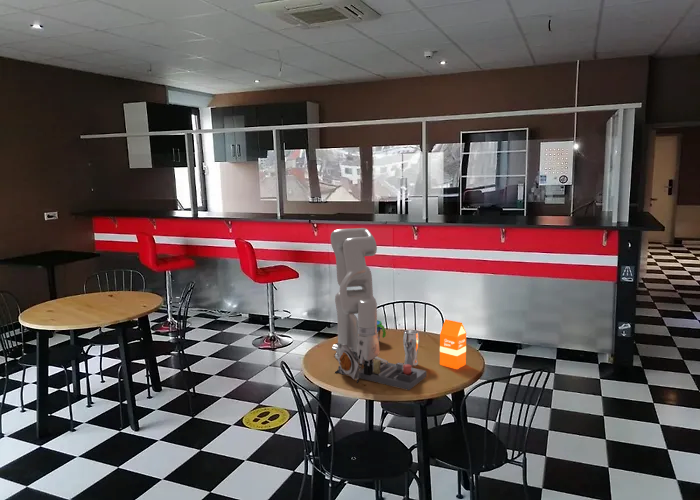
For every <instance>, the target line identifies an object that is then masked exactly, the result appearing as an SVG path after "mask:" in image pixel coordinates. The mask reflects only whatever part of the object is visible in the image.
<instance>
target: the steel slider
mask: <svg viewBox="0 0 700 500" xmlns="http://www.w3.org/2000/svg"><path fill="white" fill-rule="evenodd" d="M395 364H396V365H397V371H399V372H401V371H403V365H405V364H404V363H403V362H398V361H397V362H396V363H395Z"/></svg>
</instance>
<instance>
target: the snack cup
mask: <svg viewBox="0 0 700 500" xmlns="http://www.w3.org/2000/svg"><path fill="white" fill-rule="evenodd" d="M381 330H382V335H381ZM377 332H378V337H379V339H380V337H382V339H384V338H385V337H386V336H387V335H386V334H387V332H386V328H385V326H384V325H383V324H382V321H381V320H379V319H377Z"/></svg>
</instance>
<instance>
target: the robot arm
mask: <svg viewBox="0 0 700 500" xmlns="http://www.w3.org/2000/svg"><path fill="white" fill-rule="evenodd" d="M330 244H331V247H332V250H333V253H334V256H335V262H336V263H335V264H336V265H335V267H336V279H337V284H338V286H339V291H338V292H337V293H336V294H335V298H334V303H335V307H336V315H337V343H339V344H345V345H347V346H349V347H351V348H352V349H353V350H354V352H357V354H358V359H360V363H359V364H362V366H363V368H364V374H365V375H369V376H370V375H372V374H373V360H374V358H375V357H376V356H377V357H379V355H380V338H379V337H378V332H377V320H378V303H377V300H376V298H375V297H374V293H373V292H374V290H373V277H372V276H373V275H372V272H371V271H372V270H371V269H370V267H368V266H367V263H366V258H365V257H372V256H375V255H376V254H377V249H378V248H377V242H376V239H375V236H373V234H372V233H371V231H370V230H369V229H368V228H365V227H361V228H360V227H359V228H357V227H356V228H339V229H335V230H333V231H332V232H331V234H330ZM353 287H355V288H356V287H360V288H361V289H348V288H353ZM356 314H357V316H356ZM331 350H332V351H336V353H335V354H334V358H335V359H336V360H338V357H339V354H340V351H341V350H340V349H339V348H338V346H337V345H336V344H333V345H332V347H331Z"/></svg>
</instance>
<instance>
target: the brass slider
mask: <svg viewBox="0 0 700 500" xmlns="http://www.w3.org/2000/svg"><path fill="white" fill-rule="evenodd" d="M373 362H374V373H375V374H380V362H381V360H378V359H374V360H373Z"/></svg>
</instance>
